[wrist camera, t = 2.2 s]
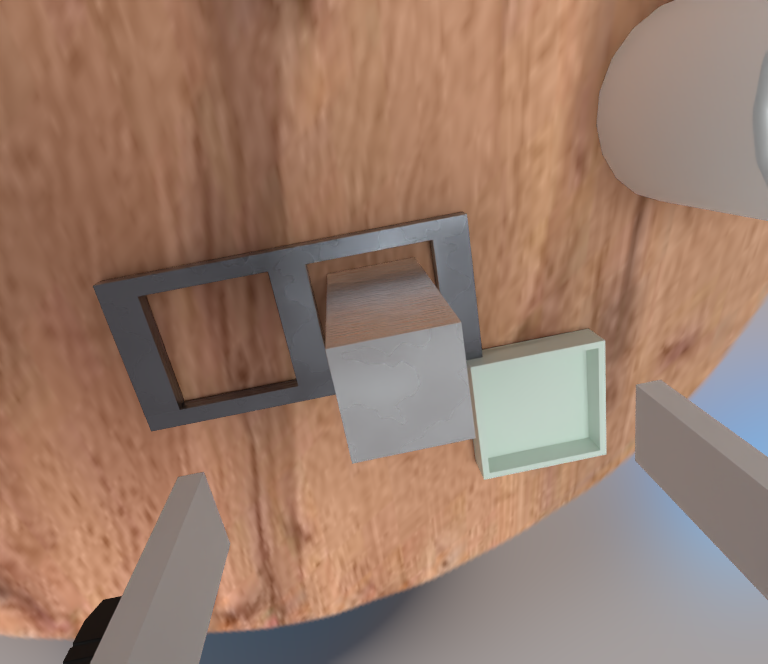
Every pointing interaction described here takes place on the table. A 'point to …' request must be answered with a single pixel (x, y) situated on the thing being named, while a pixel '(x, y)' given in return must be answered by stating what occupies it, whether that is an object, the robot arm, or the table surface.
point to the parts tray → (538, 403)
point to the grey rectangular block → (396, 361)
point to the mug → (692, 107)
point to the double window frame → (296, 311)
